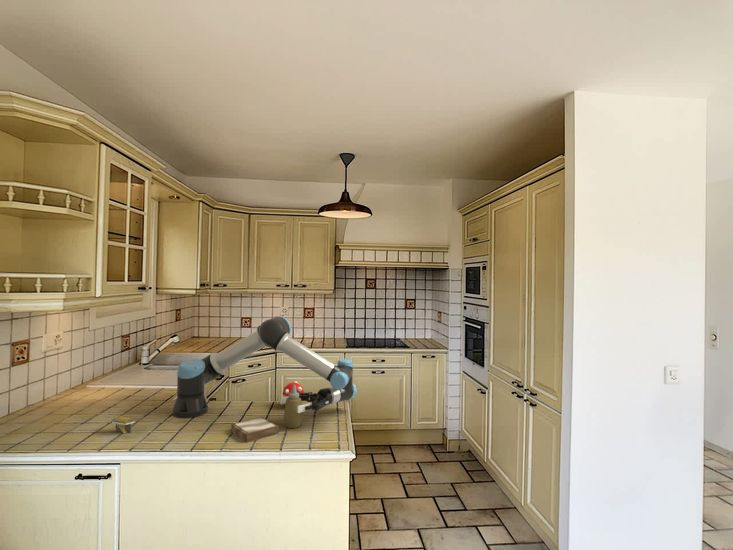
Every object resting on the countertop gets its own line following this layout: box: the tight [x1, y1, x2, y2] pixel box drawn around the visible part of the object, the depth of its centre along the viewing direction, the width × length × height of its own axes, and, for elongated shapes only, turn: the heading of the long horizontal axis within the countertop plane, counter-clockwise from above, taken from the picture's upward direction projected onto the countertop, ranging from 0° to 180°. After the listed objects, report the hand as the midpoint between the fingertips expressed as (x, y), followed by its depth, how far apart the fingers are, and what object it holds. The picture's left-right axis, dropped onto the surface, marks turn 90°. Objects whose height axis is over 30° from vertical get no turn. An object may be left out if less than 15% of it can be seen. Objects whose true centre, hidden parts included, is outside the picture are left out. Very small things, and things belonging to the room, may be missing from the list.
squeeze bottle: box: [283, 385, 303, 429], centre depth 178 cm, size 8×8×18 cm
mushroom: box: [281, 380, 305, 397], centre depth 204 cm, size 11×11×12 cm
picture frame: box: [230, 416, 279, 443], centre depth 170 cm, size 14×14×3 cm
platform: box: [111, 415, 135, 434], centre depth 167 cm, size 12×18×7 cm, turn 72°
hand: (288, 405), depth 176 cm, fingers open, 13 cm apart
